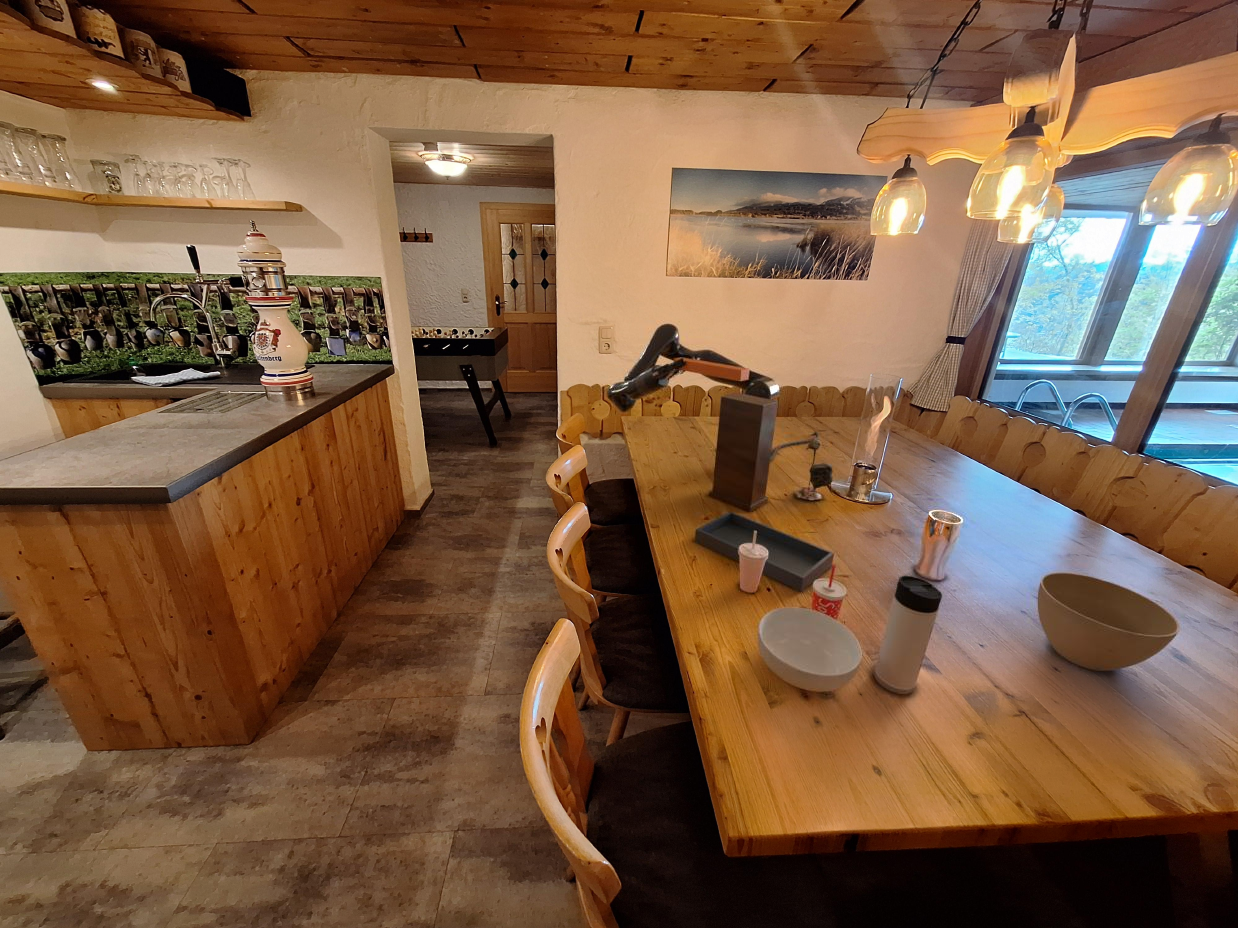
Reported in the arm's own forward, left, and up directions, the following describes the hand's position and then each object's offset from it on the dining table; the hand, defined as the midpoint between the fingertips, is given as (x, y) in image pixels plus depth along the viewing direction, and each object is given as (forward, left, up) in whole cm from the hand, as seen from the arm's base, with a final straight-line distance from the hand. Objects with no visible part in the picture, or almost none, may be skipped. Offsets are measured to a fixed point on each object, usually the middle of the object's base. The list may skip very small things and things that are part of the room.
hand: (689, 360), depth 146 cm
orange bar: (0, +8, -3) cm, 8 cm away
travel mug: (+37, +78, -41) cm, 96 cm away
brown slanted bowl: (+4, +100, -41) cm, 108 cm away
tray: (+17, +40, -41) cm, 60 cm away
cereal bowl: (+46, +66, -41) cm, 91 cm away
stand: (-6, +18, -41) cm, 45 cm away
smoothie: (+32, +46, -41) cm, 70 cm away
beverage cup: (+32, +63, -41) cm, 82 cm away
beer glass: (-5, +72, -41) cm, 83 cm away
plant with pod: (-25, +33, -41) cm, 59 cm away
